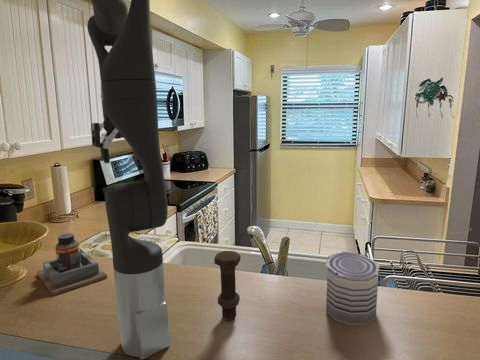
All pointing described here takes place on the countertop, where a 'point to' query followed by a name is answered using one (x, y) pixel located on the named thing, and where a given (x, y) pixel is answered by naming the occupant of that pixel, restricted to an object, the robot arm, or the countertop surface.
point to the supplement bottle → (67, 253)
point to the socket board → (70, 275)
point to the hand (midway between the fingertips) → (122, 161)
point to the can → (352, 288)
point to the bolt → (228, 283)
